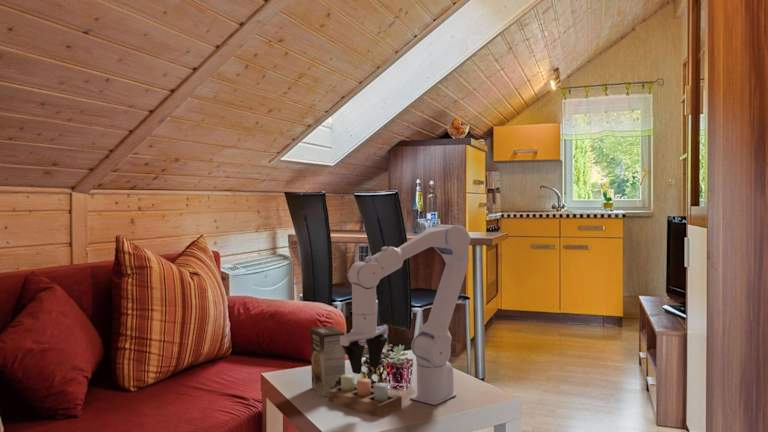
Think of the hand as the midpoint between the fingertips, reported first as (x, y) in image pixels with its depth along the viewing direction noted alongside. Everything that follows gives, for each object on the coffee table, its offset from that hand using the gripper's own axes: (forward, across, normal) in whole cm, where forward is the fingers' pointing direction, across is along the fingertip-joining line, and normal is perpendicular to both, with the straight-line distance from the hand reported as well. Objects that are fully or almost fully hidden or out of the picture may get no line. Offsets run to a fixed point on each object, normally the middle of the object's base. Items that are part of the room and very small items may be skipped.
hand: (365, 370), depth 139 cm
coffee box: (+10, -5, -18) cm, 22 cm away
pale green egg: (+8, -3, -9) cm, 12 cm away
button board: (+10, -3, -4) cm, 11 cm away
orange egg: (+8, -3, -4) cm, 9 cm away
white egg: (+8, -3, +2) cm, 9 cm away
